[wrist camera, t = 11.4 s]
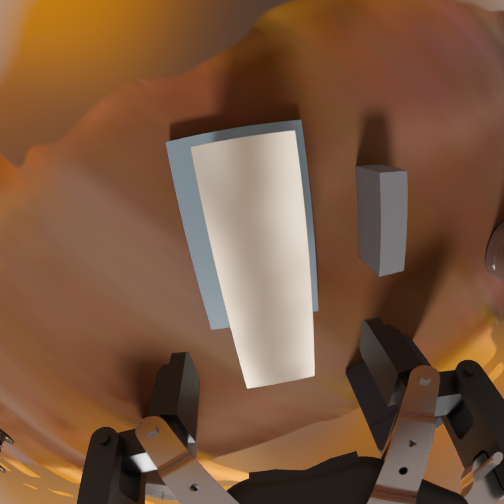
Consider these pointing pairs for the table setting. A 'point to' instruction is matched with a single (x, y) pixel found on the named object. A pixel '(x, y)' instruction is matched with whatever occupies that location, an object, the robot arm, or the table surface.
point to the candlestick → (0, 438)
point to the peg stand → (196, 221)
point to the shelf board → (260, 251)
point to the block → (382, 217)
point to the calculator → (377, 399)
